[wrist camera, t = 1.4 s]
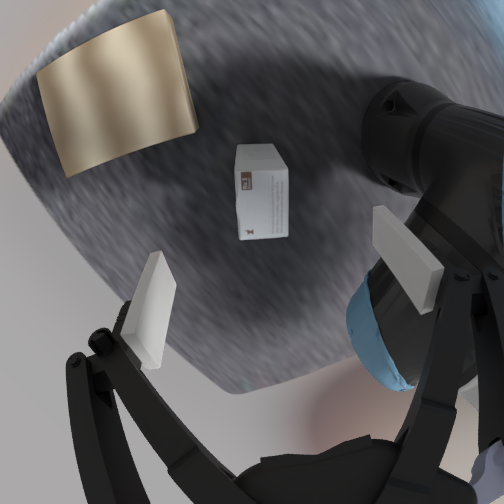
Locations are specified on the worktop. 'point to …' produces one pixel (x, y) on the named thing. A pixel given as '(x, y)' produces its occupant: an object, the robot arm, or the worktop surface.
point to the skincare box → (261, 192)
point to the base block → (117, 94)
